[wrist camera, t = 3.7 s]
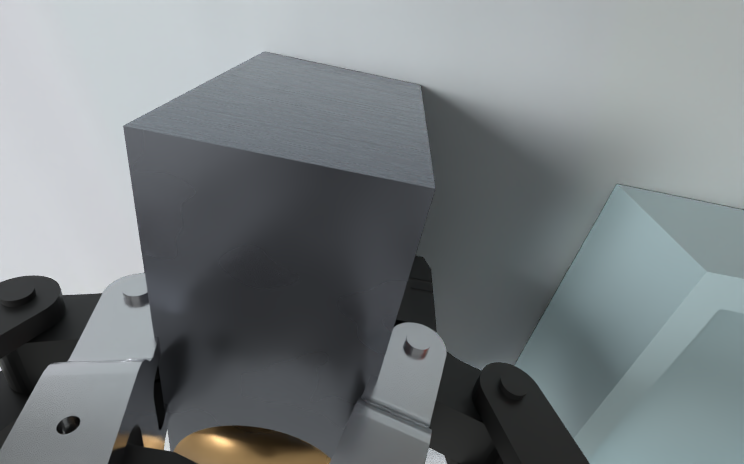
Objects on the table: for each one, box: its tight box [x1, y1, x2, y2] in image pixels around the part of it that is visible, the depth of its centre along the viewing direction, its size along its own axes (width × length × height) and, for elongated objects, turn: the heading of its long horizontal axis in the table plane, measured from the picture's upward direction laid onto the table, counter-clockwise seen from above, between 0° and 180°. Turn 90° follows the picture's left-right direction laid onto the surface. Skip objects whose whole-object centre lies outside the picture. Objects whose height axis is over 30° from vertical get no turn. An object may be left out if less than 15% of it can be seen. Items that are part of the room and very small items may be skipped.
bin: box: [514, 184, 744, 464], centre depth 14 cm, size 14×14×4 cm
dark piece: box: [123, 52, 435, 464], centre depth 10 cm, size 4×10×6 cm, turn 169°
